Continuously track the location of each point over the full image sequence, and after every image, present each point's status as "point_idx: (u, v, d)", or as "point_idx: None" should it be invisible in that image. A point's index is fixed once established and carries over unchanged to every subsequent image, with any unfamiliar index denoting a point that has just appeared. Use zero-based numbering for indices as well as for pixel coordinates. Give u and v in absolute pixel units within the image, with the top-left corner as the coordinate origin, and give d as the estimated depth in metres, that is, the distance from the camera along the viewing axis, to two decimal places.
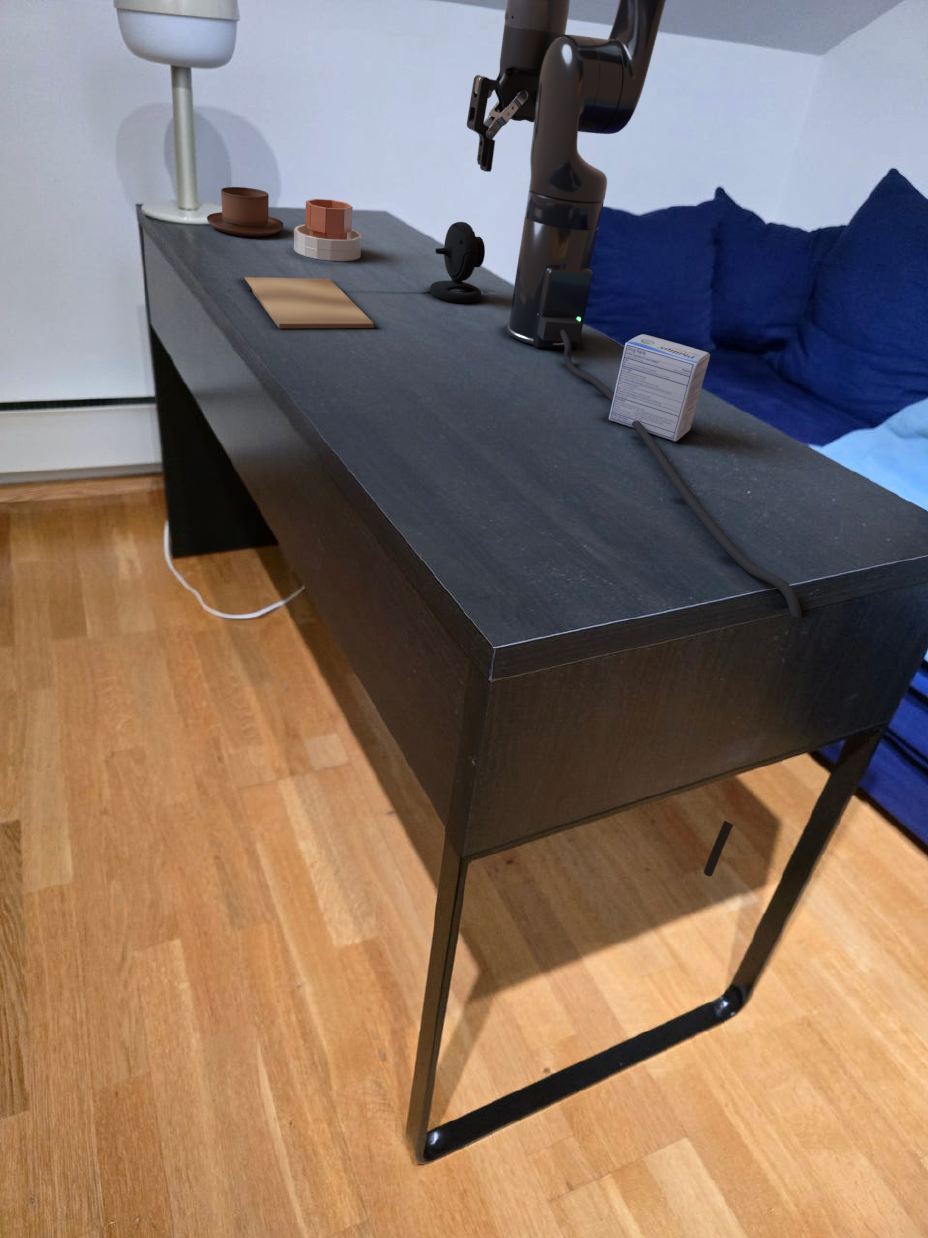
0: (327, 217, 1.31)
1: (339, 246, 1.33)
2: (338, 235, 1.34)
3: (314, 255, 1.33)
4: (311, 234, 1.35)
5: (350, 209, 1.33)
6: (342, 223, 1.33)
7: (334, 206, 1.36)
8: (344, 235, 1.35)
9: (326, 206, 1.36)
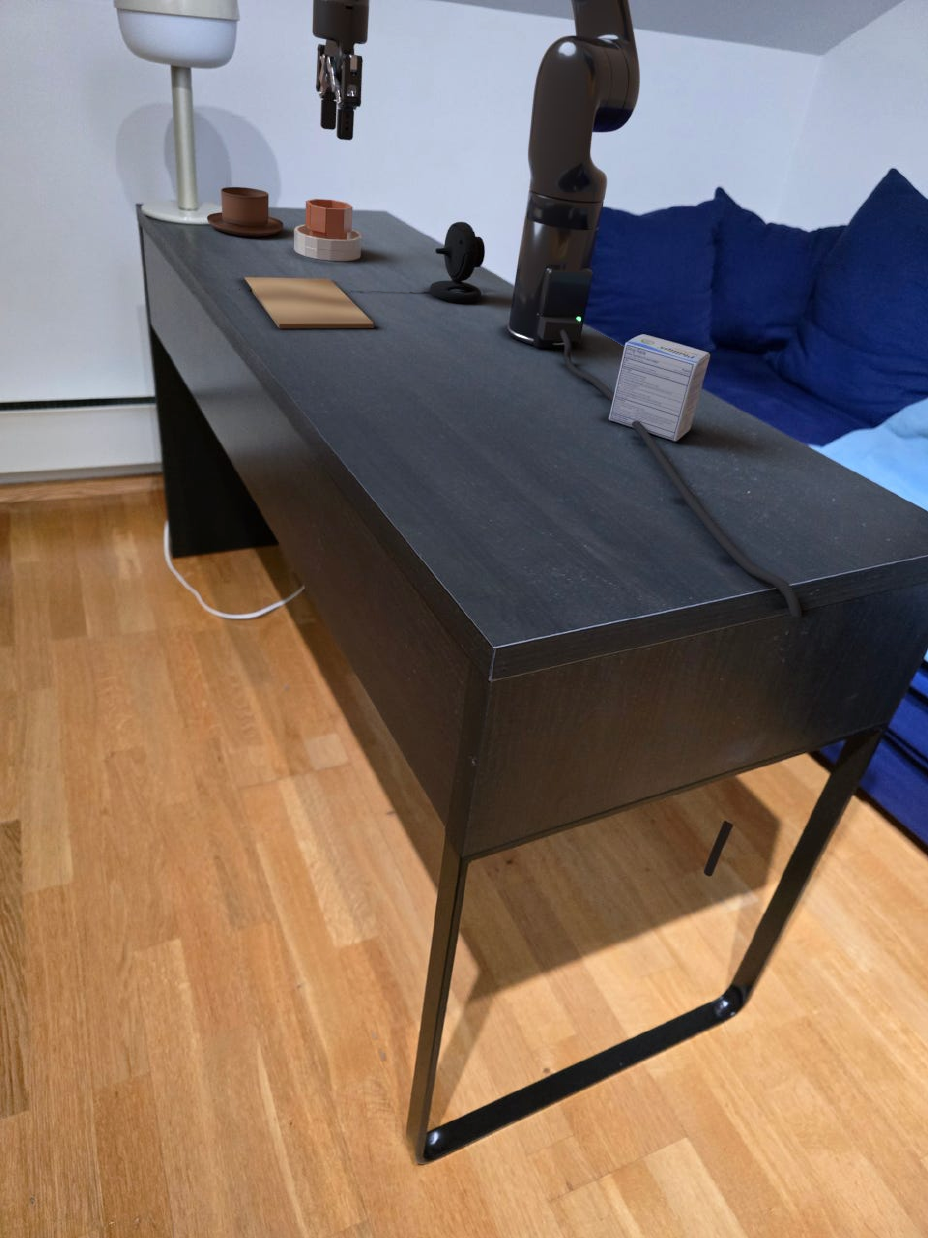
0: (327, 217, 1.31)
1: (339, 246, 1.33)
2: (338, 235, 1.34)
3: (314, 255, 1.33)
4: (311, 234, 1.35)
5: (350, 209, 1.33)
6: (342, 223, 1.33)
7: (334, 206, 1.36)
8: (344, 235, 1.35)
9: (326, 206, 1.36)
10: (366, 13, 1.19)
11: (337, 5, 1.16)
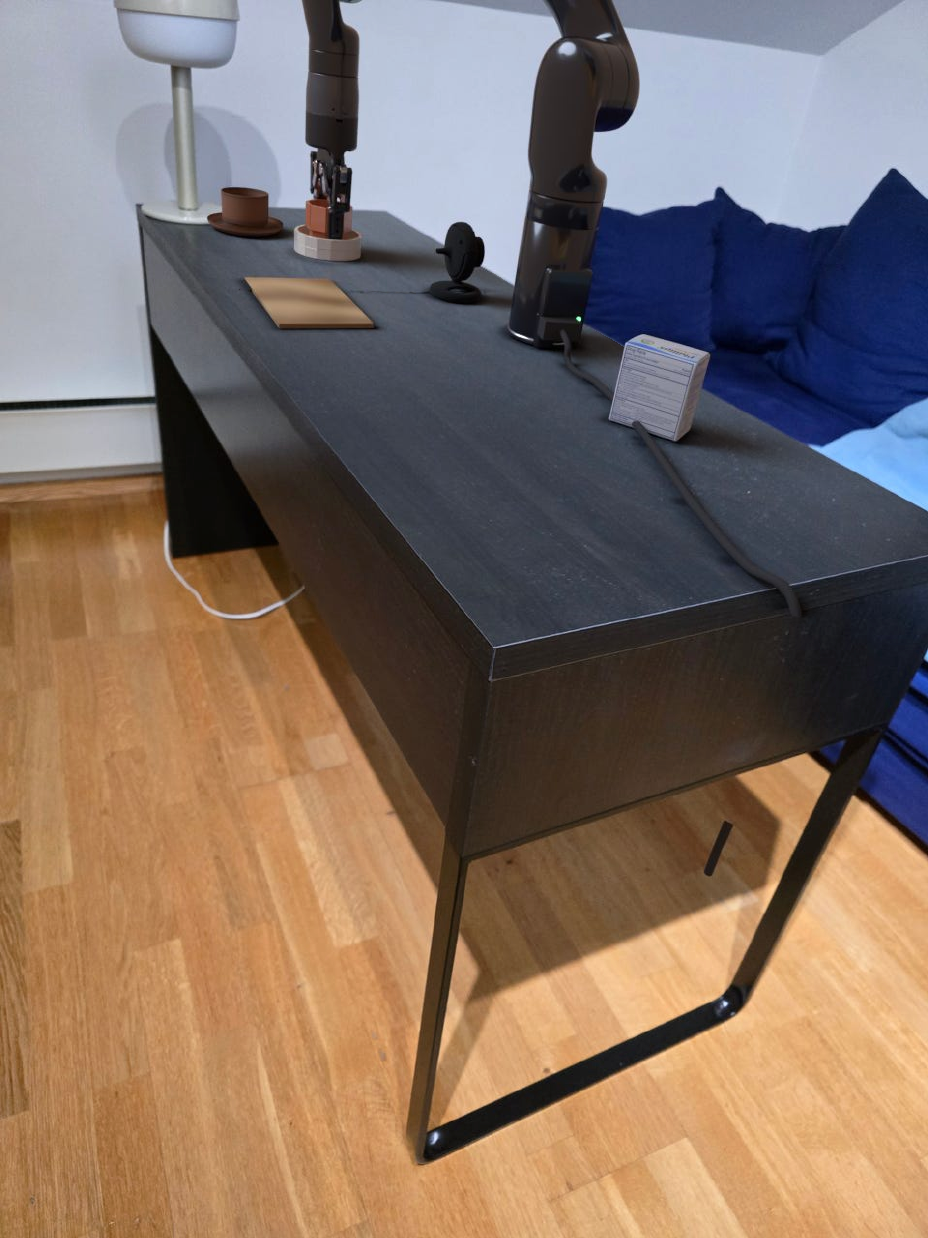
0: (327, 217, 1.31)
1: (339, 246, 1.33)
2: None
3: (314, 255, 1.33)
4: (311, 234, 1.35)
5: (350, 209, 1.33)
6: None
7: None
8: (344, 235, 1.35)
9: (326, 206, 1.36)
10: (355, 124, 1.26)
11: (327, 119, 1.24)
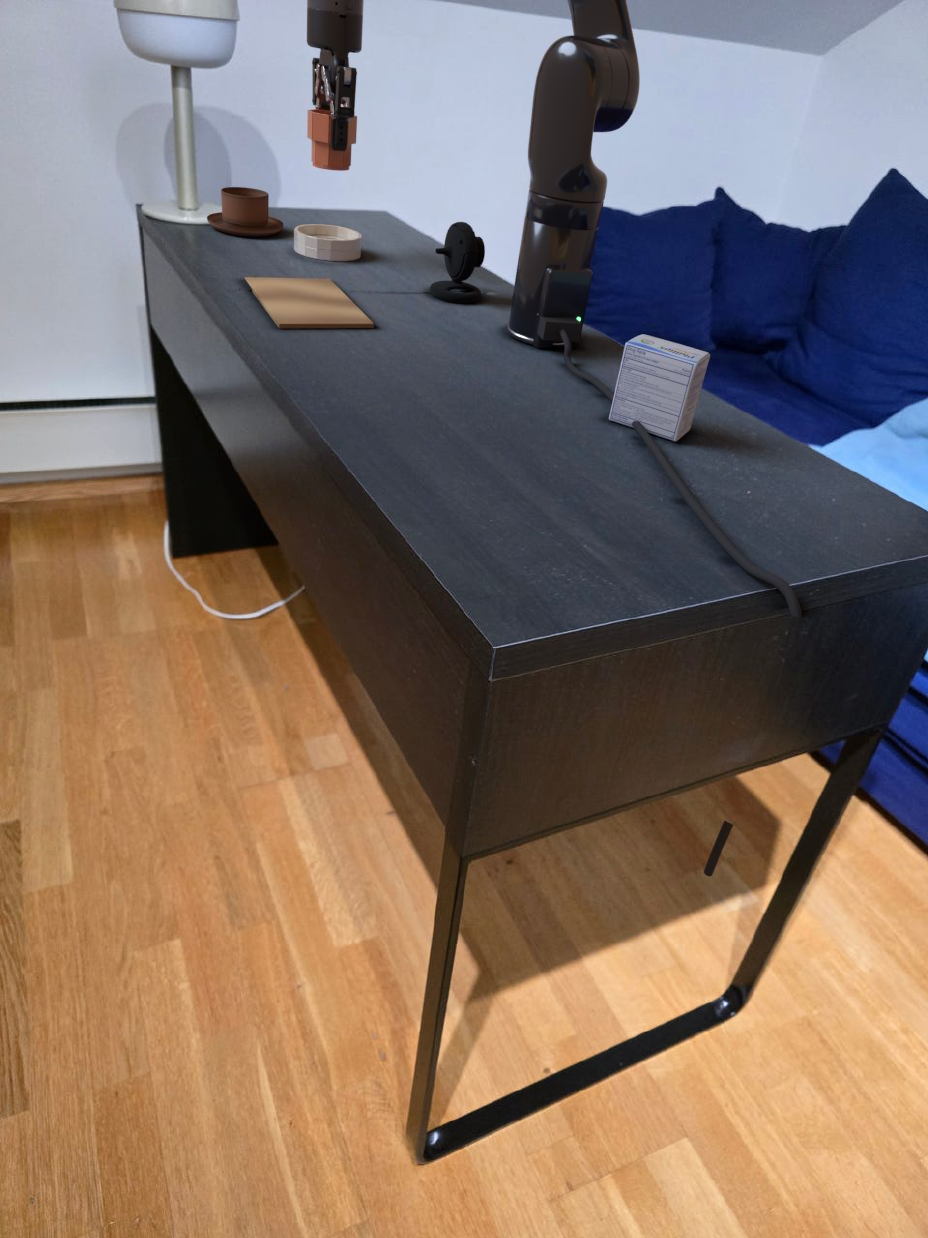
0: (330, 125, 1.24)
1: (339, 246, 1.33)
2: None
3: (314, 255, 1.33)
4: (313, 146, 1.27)
5: (354, 118, 1.26)
6: None
7: None
8: (348, 147, 1.28)
9: None
10: (360, 22, 1.19)
11: (330, 14, 1.16)
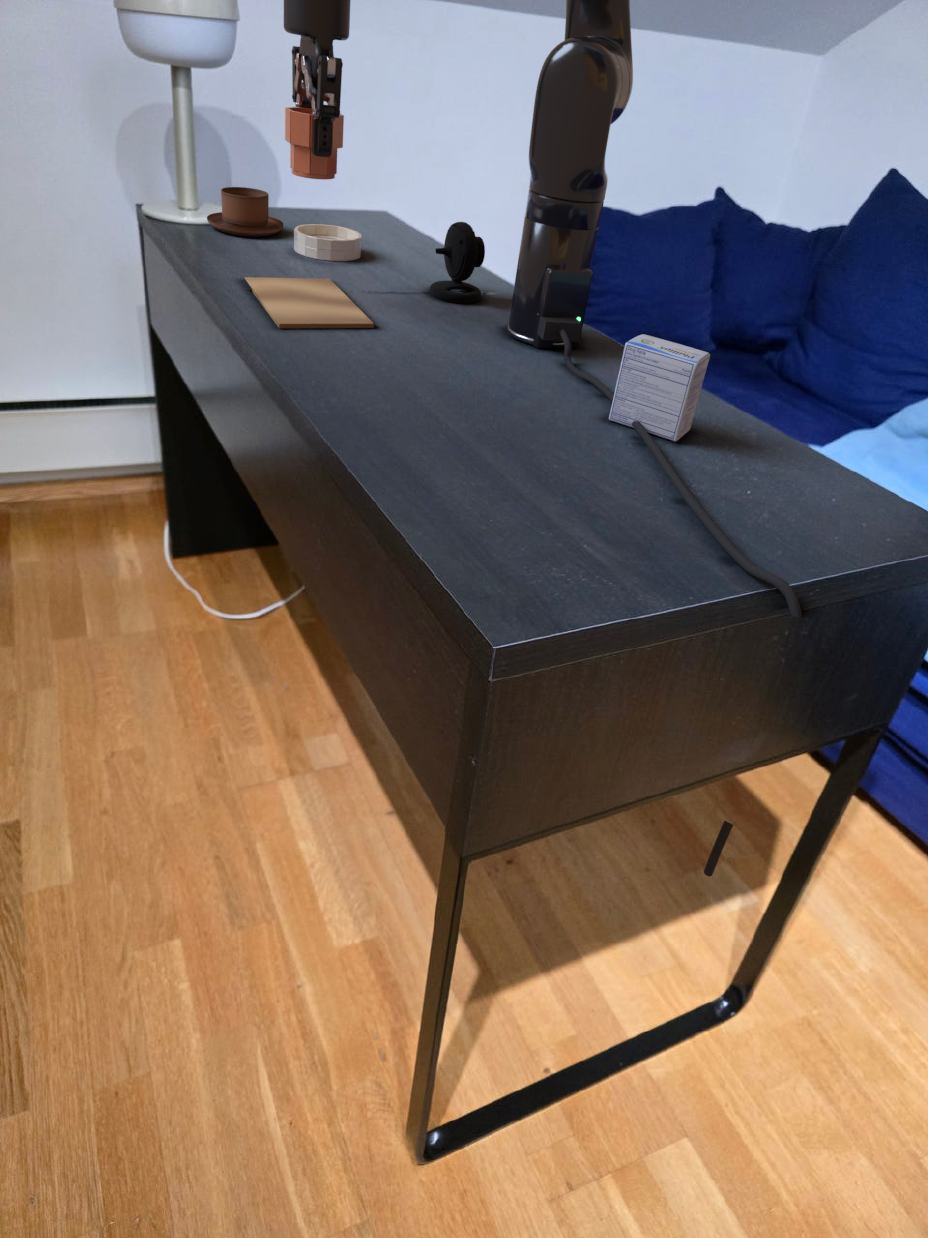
0: (312, 126, 1.04)
1: (339, 246, 1.33)
2: None
3: (314, 255, 1.33)
4: (292, 150, 1.08)
5: (341, 118, 1.06)
6: None
7: None
8: (333, 152, 1.08)
9: None
10: (347, 4, 0.99)
11: None
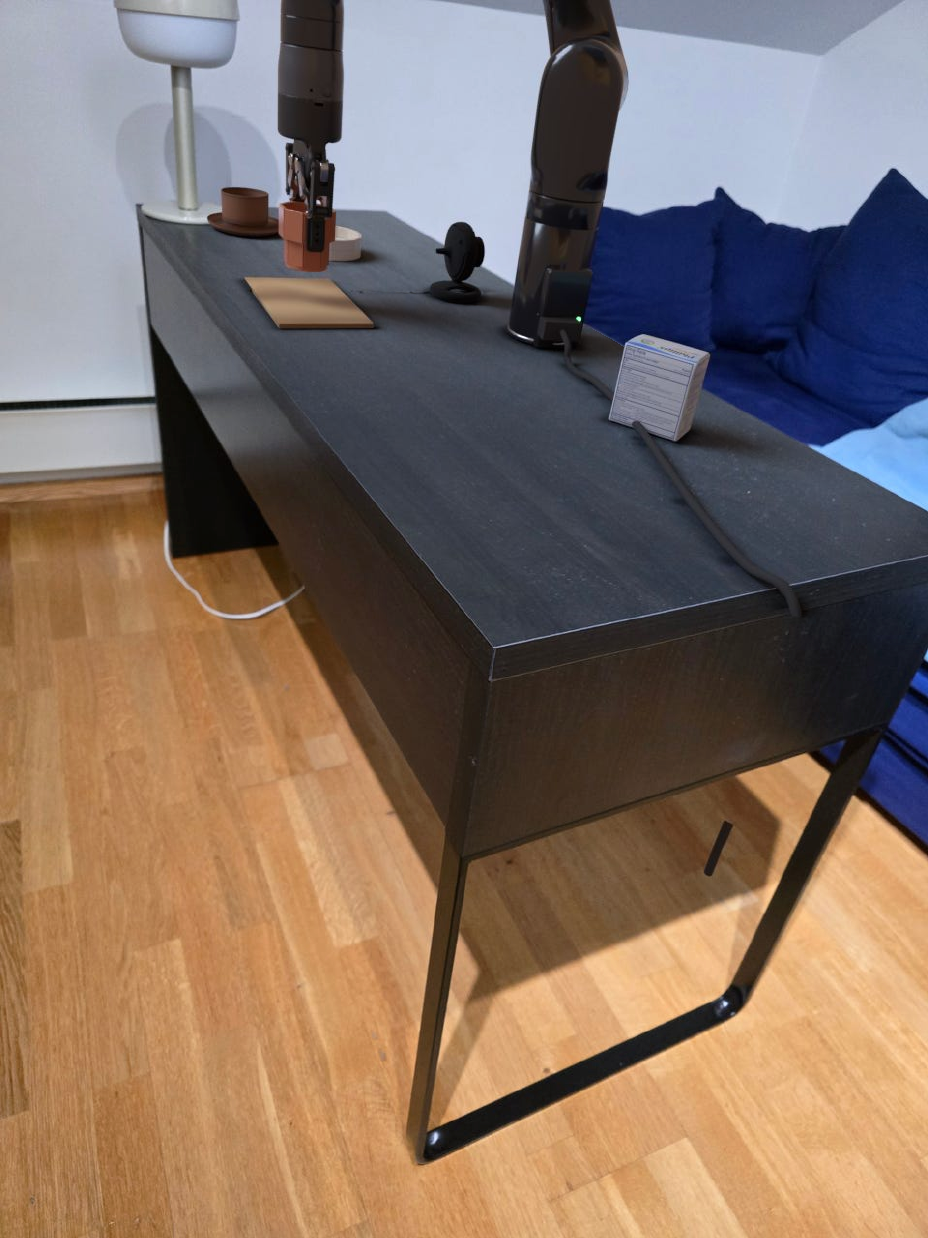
0: (305, 224, 1.07)
1: (339, 246, 1.33)
2: None
3: None
4: (285, 244, 1.10)
5: (333, 214, 1.09)
6: None
7: None
8: (326, 246, 1.11)
9: (304, 210, 1.12)
10: (339, 110, 1.02)
11: (304, 102, 0.99)
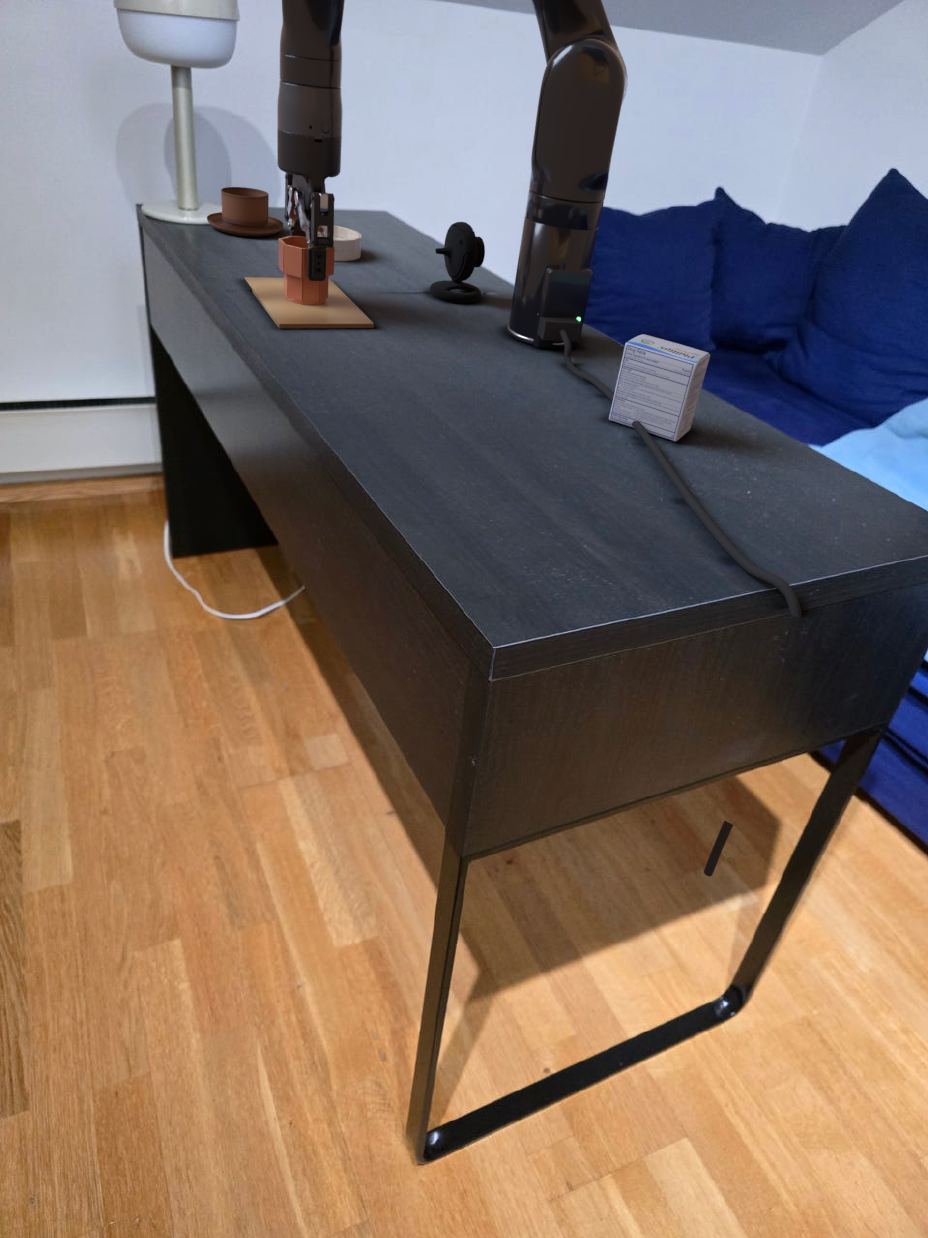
0: (304, 259, 1.09)
1: (339, 246, 1.33)
2: None
3: None
4: (285, 278, 1.13)
5: (332, 249, 1.11)
6: None
7: None
8: (325, 279, 1.13)
9: (304, 244, 1.14)
10: (338, 145, 1.04)
11: (304, 139, 1.01)
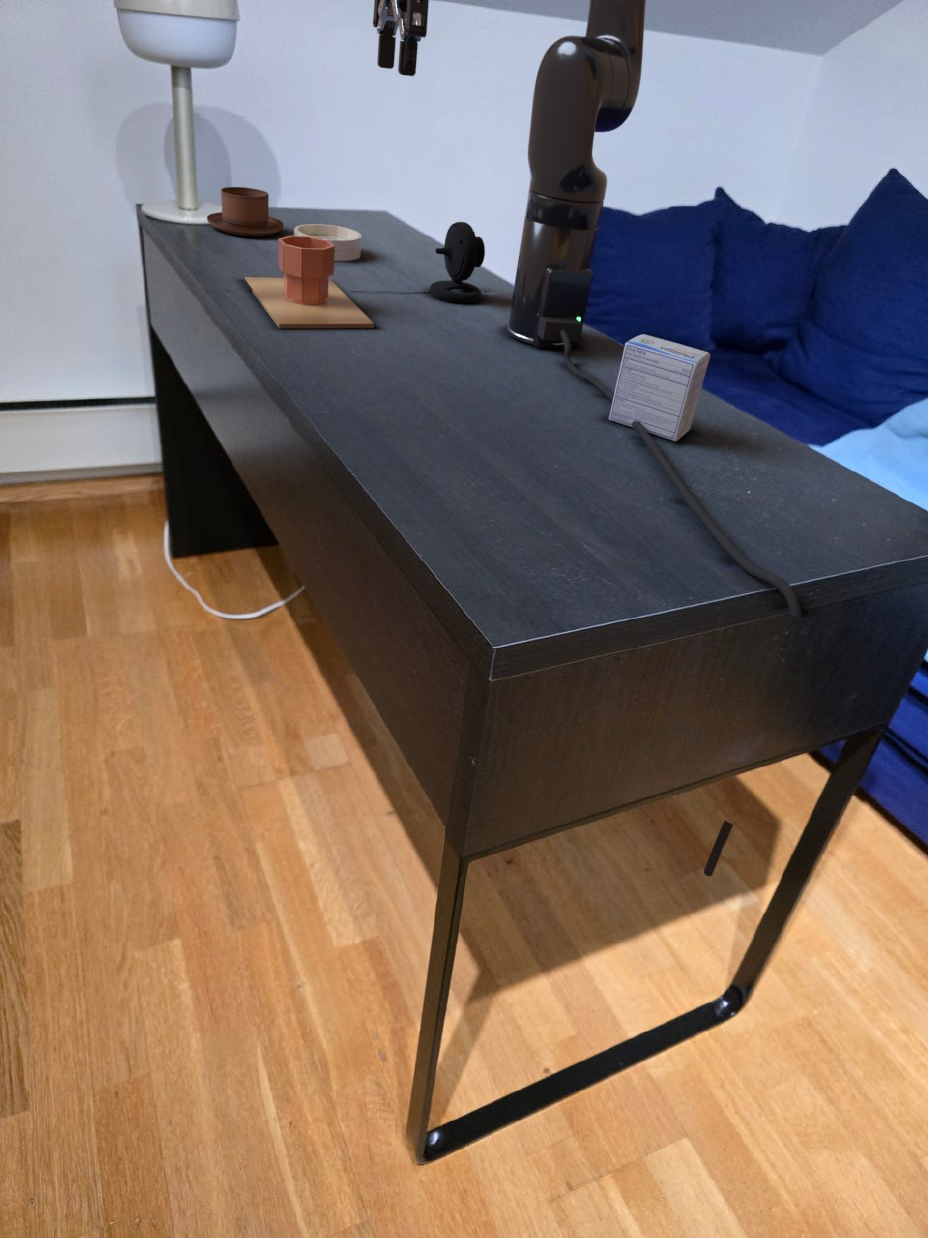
0: (304, 259, 1.09)
1: (339, 246, 1.33)
2: (317, 280, 1.12)
3: None
4: (285, 278, 1.13)
5: (332, 249, 1.11)
6: (322, 266, 1.11)
7: (313, 244, 1.14)
8: (325, 279, 1.13)
9: (304, 244, 1.14)
10: None
11: None
